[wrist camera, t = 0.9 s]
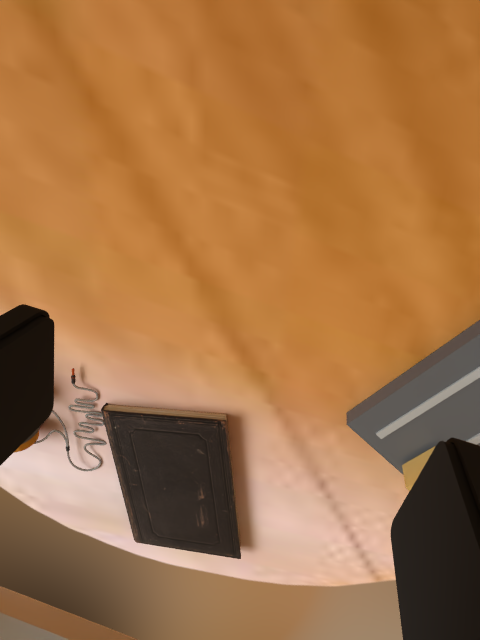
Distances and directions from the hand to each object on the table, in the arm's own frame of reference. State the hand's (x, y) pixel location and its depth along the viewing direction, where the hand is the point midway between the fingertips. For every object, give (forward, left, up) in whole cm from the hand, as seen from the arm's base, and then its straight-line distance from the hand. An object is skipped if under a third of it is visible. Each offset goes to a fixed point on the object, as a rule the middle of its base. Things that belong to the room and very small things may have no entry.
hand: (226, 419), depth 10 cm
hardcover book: (+37, +12, -31) cm, 50 cm away
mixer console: (+3, +24, -30) cm, 39 cm away
